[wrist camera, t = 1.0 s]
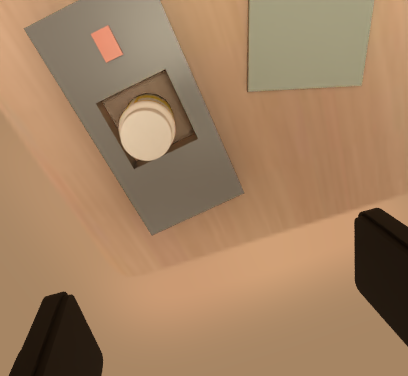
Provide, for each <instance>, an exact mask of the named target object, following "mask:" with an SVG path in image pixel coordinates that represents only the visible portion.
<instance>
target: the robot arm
mask: <svg viewBox="0 0 408 376" xmlns="http://www.w3.org/2000/svg"><path fill="white" fill-rule="evenodd" d="M354 224H355V225H354V226H355V283H356V286H357V288H358V290H359V291H360V293H361V294H362V295H363V296H364V297H365V298H366V300H367V301H368V302H369V303H370V304H371V305H372V306H373V307H374V309H375V310H376V311H377V312H378V313H379V314H380V316H381V317H382V318H383V319H384V320H385V321H386V322H387V323H388V324H389V326H390V327H391V328H392V329H393V330H394V331H395V332H396V333H397V335H398V336H399V337H400V338H401V339H402V340H403V341H404V343H405V344H406V345H407V346H408V227H407V226H406V225H404V224H403V223H401V222H400V221H398V220H396V219H395V218H394V217H392V216H391V215H389V214H388V213H386V212H385V211H383V210H382V209H380V208H374V209H371V210H367V211H363V212H360V213H359V215H358V218H356V219H355V223H354ZM102 368H103V356H102V353H101V350H100V348H99V346H98V344H97V342H96V340H95V338H94V336H93V334H92V332H91V330H90V328H89V326H88V324H87V322H86V320H85V318H84V316H83V314H82V311H81V309H80V307H79V305H78V303H77V301H76V299H75V298H74V296H73V295H68V294H67V293H66V292H60V293H57V294H53V295H49V296H46V297H45V298H44V299H43V301H42V303H41V305H40V308H39V310H38V312H37V315H36V317H35V319H34V322H33V324H32V326H31V329H30V331H29V333H28V336H27V338H26V340H25V342H24V345H23V347H22V350H21V351H20V352H19V354H18V356H17V358H16V360H15V362H14V365H13V367H12V369H11V372H10V374H9V376H101V374H102Z"/></svg>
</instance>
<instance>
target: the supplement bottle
mask: <svg viewBox="0 0 408 376" xmlns="http://www.w3.org/2000/svg"><path fill="white" fill-rule="evenodd" d="M175 130H176V128H175V121H174V116H173V112H172V109H171V107H170V105H169V104H168V102H167V101H166V100H165V99H163V98H162V97H160V96H158V95H156V94H151V93H146V94H141V95H139V96H137V97H135V98H134V99H133V100H132V101H131V102H130V103H129V105H128V106H127V108H126V109H125V111H124V112H123V114H122V115H121V118H120V120H119V135H120V139H121V143H122V145H123V147H124V149H125V150H126V151H127V152H128V153H129V154H130V155H131V156H132V157H134V158H136V159H139V160H144V161H150V160H155V159H157V158H160V157H161V156H163V155H164V154H165V153H166V152H167V150H168V149H169V147H170V145H171V144H172V142H173V140H174V137H175Z"/></svg>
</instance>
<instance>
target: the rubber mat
mask: <svg viewBox="0 0 408 376" xmlns="http://www.w3.org/2000/svg"><path fill="white" fill-rule="evenodd" d="M373 6H374V0H249V6H248V79H247V91H248V92H253V91H271V90H290V89H308V88H327V87H345V86H362V80H363V74H364V67H365V60H366V53H367V47H368V40H369V33H370V26H371V20H372V13H373Z"/></svg>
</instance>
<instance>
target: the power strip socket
mask: <svg viewBox="0 0 408 376" xmlns="http://www.w3.org/2000/svg"><path fill="white" fill-rule="evenodd" d="M24 30H25V31H26V33H27V35H28V36H29V38H30V40H31V41H32V43H33V44H34V46H35V48H36V49H37V51H38V52H39V54H40V56H41V57H42V59H43V61H44V62H45V64H46V65H47V67H48V69H49V70H50V72H51V74H52V75H53V77H54V78H55V80H56V82H57V83H58V85H59V86H60V88H61V90H62V91H63V93H64V95H65V96H66V98H67V99H68V101H69V103H70V104H71V106H72V107H73V109H74V111H75V112H76V114H77V116H78V117H79V119H80V120H81V122H82V124H83V125H84V127H85V128H86V130H87V132H88V133H89V135H90V137H91V138H92V140H93V141H94V143H95V145H96V146H97V148H98V149H99V151H100V153H101V154H102V156H103V158H104V159H105V161H106V162H107V164H108V166H109V167H110V169H111V170H112V172H113V174H114V175H115V177H116V179H117V180H118V182H119V183H120V185H121V187H122V188H123V190H124V191H125V193H126V195H127V196H128V198H129V200H130V201H131V203H132V204H133V206H134V208H135V209H136V211H137V212H138V214H139V216H140V217H141V219H142V221H143V222H144V224H145V225H146V227H147V229H148V230H149V232H150V233H151V235H154V234H156V233H158V232H161V231H163V230H165V229H167V228H169V227H172V226H174V225H176V224H178V223H180V222H182V221H185V220H187V219H189V218H191V217H193V216H196V215H198V214H200V213H202V212H204V211H207V210H209V209H211V208H213V207H215V206H217V205H220V204H222V203H224V202H226V201H228V200H231V199H233V198H235V197H237V196H239V195H241V194H244V191H243V189H242V187H241V184H240V182H239V180H238V177H237V175H236V173H235V171H234V168H233V166H232V164H231V161H230V159H229V157H228V155H227V152H226V150H225V148H224V145H223V143H222V141H221V139H220V136H219V134H218V132H217V129H216V127H215V125H214V123H213V120H212V118H211V116H210V113H209V111H208V109H207V107H206V104H205V102H204V100H203V97H202V95H201V93H200V91H199V88H198V86H197V84H196V82H195V79H194V77H193V75H192V72H191V70H190V68H189V66H188V63H187V61H186V59H185V56H184V54H183V52H182V50H181V47H180V45H179V43H178V40H177V38H176V36H175V34H174V31H173V29H172V27H171V24H170V22H169V20H168V18H167V15H166V13H165V11H164V8H163V6H162V4H161V2H160V0H78V1H76V2H74V3H72V4H70V5H68V6H67V7H65V8H63V9H61V10H59V11H57V12H55V13H53V14H51V15H49V16H47V17H45V18H43V19H41V20H39V21H38V22H36V23H34V24H32V25H30V26H28V27H26V28H24ZM165 69H166V72H167V74H168V76H169V78H170V80H171V82H172V84H173V86H174V89H175V91H176V93H177V95H178V97H179V99H180V101H181V103H182V106H183V108H184V110H185V112H186V114H187V116H188V118H189V121H190V123H191V125H192V127H193V129H194V131H195V134H193V135H191V136H189V137H187V138H184V139H182V140H180V141H178V142H176V143H174V144H172V145H170V147H169V149H168V150H167V152H166V153H165V154H164V155H163V156H161V157H160V158H157V159H155V160H150V161H144V160H138V161H135V159H134V157H132V156H131V155H130V154H129V153H128V152H127V151H126V150H125V149H124V147H123V145H122V143H121V139H120V135H119V131H118V129H117V127H116V126H115V124H114V122H113V121H112V119H111V117H110V115H109V114H108V112H107V110H106V108H105V107H104V105H103V103H102V100H104V99H106V98H108V97H110V96H112V95H114V94H116V93H118V92H120V91H122V90H124V89H126V88H128V87H130V86H132V85H134V84H136V83H138V82H140V81H143V80H145V79H147V78H149V77H151V76H153V75H155V74H157V73H159V72H161V71H163V70H165Z"/></svg>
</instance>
